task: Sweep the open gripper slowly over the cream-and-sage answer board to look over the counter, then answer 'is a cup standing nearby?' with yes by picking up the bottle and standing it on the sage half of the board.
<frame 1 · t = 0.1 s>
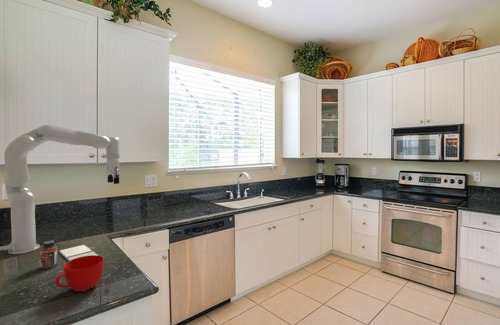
hand: (113, 183, 170), 31 cm above the countertop, tool pointing down, fingers open, 9 cm apart
answer board: (80, 256, 130), on the countertop
supplement bottle: (49, 267, 119), on the countertop
ceramic cup: (80, 290, 99), on the countertop
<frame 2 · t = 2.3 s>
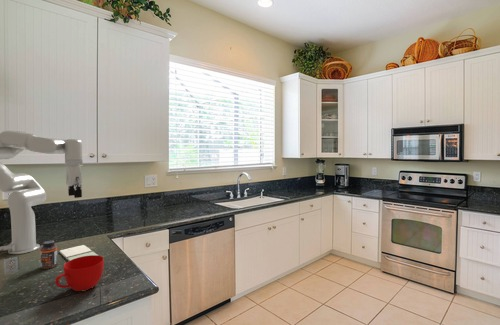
hand: (75, 196, 137), 28 cm above the countertop, tool pointing down, fingers open, 9 cm apart
nothing on the countertop moved.
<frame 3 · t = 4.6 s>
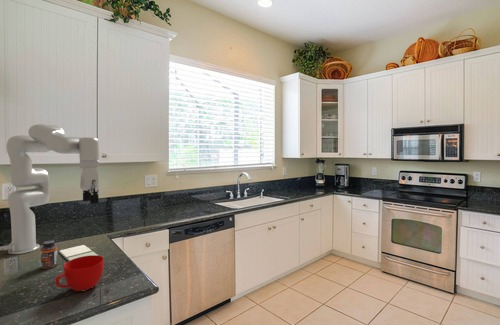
hand: (90, 202, 121), 29 cm above the countertop, tool pointing down, fingers open, 9 cm apart
nothing on the countertop moved.
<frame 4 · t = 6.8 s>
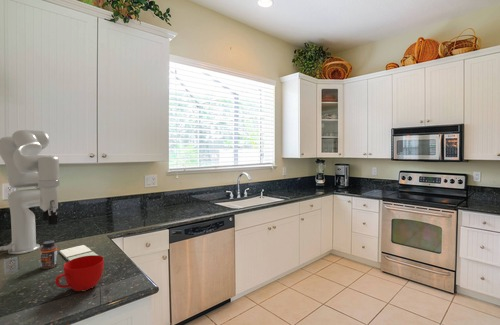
hand: (50, 222, 118), 20 cm above the countertop, tool pointing down, fingers open, 9 cm apart
nothing on the countertop moved.
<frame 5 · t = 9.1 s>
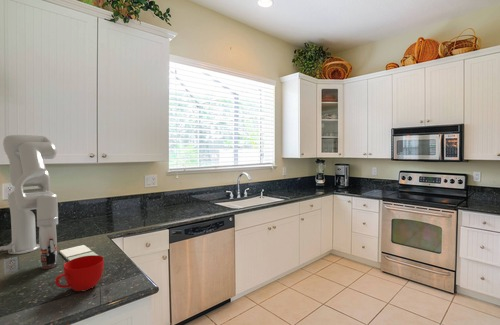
hand: (49, 260, 119), 3 cm above the countertop, tool pointing down, fingers closed on supplement bottle, 6 cm apart
supplement bottle: (49, 267, 119), on the countertop, touching gripper
everything else where it was.
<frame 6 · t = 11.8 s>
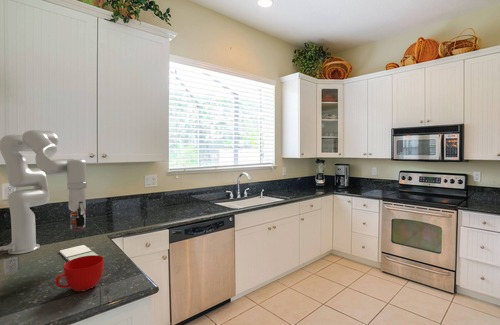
hand: (78, 224, 124), 18 cm above the countertop, tool pointing down, fingers closed on supplement bottle, 6 cm apart
supplement bottle: (78, 229, 124), point 15 cm above the countertop, touching gripper
everything else where it was.
when the fingers open (5 cm above the countertop, at t = 14.8 s): supplement bottle drops 1 cm, resting on answer board.
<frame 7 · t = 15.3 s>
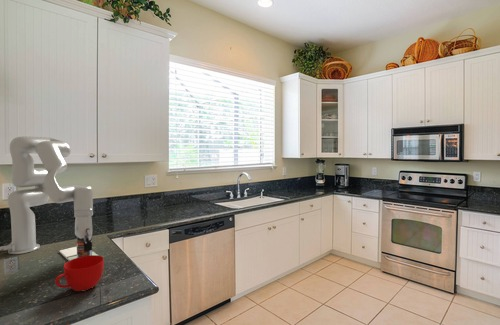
hand: (84, 248, 125), 6 cm above the countertop, tool pointing down, fingers open, 9 cm apart
supplement bottle: (84, 258, 126), point 1 cm above the countertop, touching answer board
everything else where it was.
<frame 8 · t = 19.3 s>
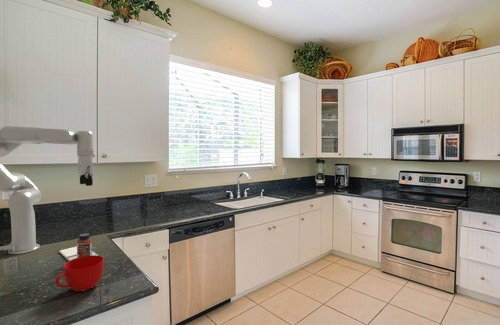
hand: (86, 184, 146), 33 cm above the countertop, tool pointing down, fingers open, 9 cm apart
nothing on the countertop moved.
at the end: supplement bottle inside the target area on the answer board (0.2 cm from its centre), point 0.8 cm above the answer board's base; supplement bottle tilted 0°; the gripper is holding nothing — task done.
